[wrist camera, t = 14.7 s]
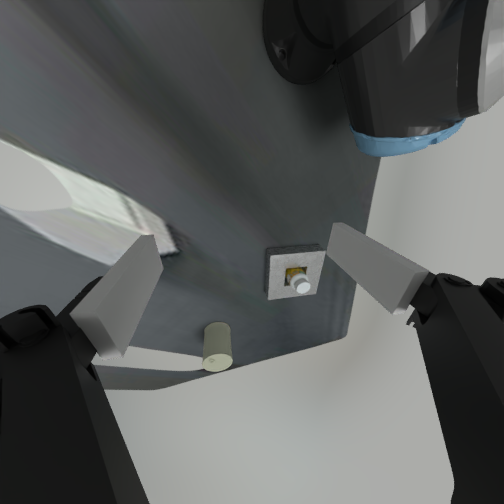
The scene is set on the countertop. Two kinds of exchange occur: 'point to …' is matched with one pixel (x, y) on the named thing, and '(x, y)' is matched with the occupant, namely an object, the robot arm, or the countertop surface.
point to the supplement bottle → (297, 279)
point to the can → (217, 347)
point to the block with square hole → (292, 257)
